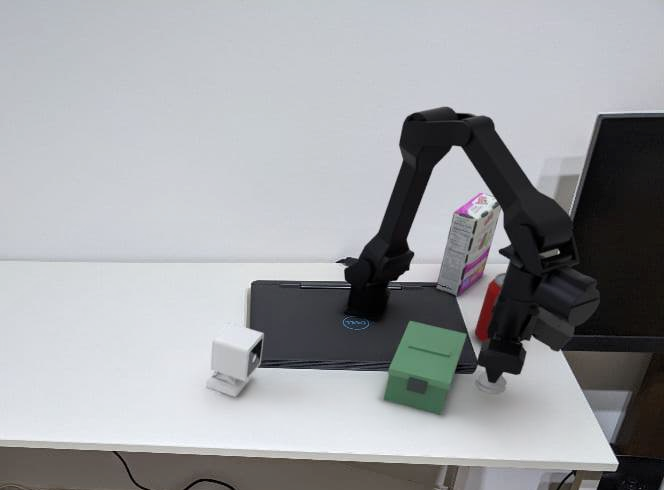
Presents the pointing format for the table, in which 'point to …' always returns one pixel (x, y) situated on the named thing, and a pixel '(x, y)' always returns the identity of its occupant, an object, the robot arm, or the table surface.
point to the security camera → (234, 358)
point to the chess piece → (490, 384)
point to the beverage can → (488, 307)
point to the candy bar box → (468, 243)
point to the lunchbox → (424, 367)
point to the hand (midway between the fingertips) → (493, 376)
